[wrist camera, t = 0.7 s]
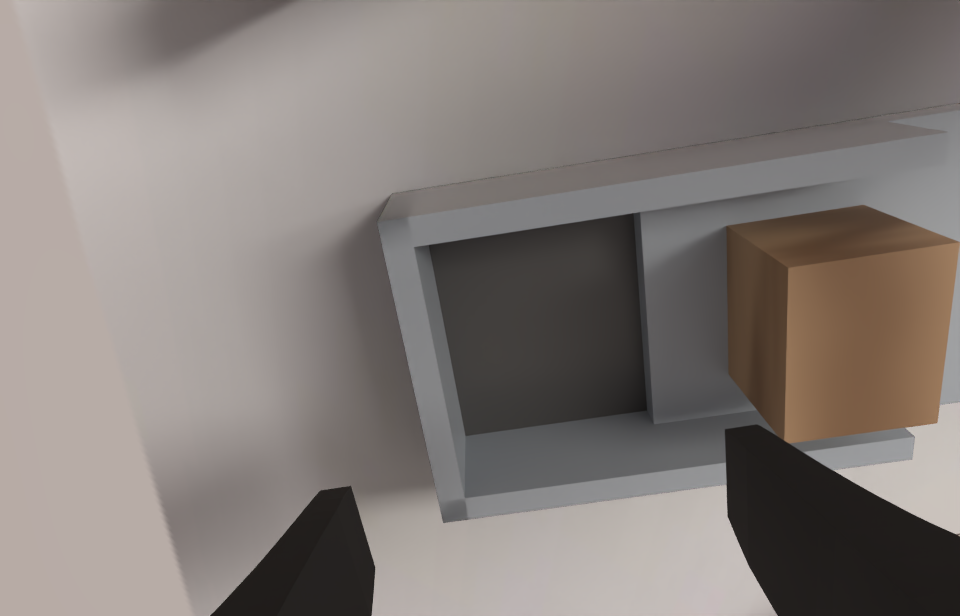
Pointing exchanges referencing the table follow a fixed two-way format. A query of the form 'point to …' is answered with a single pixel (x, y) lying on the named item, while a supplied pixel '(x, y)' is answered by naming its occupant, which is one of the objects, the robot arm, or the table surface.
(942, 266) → the walnut block
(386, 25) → the table surface
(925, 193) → the trap channel
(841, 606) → the robot arm
